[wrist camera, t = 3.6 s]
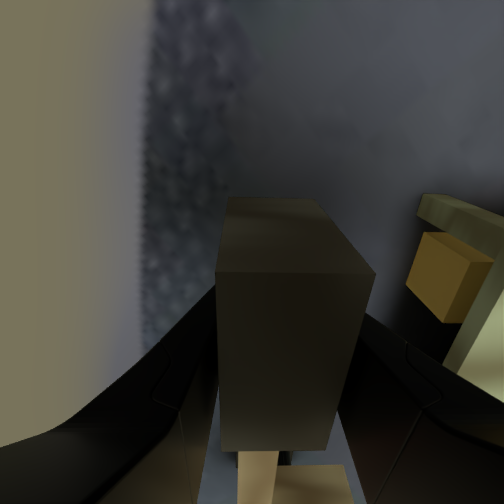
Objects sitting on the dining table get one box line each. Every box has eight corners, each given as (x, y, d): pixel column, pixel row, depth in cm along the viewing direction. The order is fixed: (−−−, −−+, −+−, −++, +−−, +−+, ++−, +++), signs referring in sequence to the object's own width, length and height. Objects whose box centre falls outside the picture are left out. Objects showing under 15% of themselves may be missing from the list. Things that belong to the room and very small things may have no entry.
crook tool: (230, 481, 18) (226, 598, 14) (228, 196, 9) (215, 271, 5) (337, 479, 19) (366, 593, 14) (437, 201, 10) (603, 277, 5)
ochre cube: (459, 284, 21) (509, 323, 17) (404, 283, 21) (442, 323, 17) (483, 232, 19) (546, 263, 15) (423, 231, 19) (470, 261, 15)
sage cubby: (474, 373, 26) (554, 462, 19) (364, 373, 26) (406, 464, 19) (579, 197, 18) (774, 245, 12) (423, 193, 18) (531, 240, 11)
